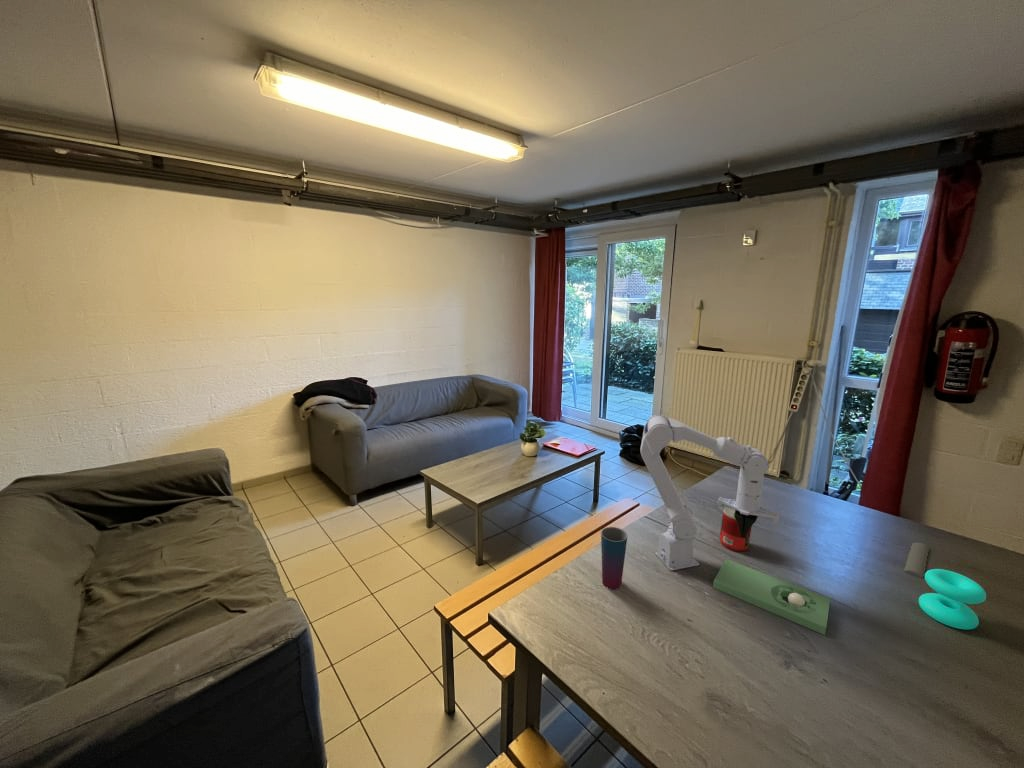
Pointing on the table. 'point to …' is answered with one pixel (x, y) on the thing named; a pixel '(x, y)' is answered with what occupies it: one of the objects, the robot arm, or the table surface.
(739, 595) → the green
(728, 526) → the canned food
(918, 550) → the half round rod
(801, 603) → the ball
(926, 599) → the donuts
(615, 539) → the cup
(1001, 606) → the table surface
